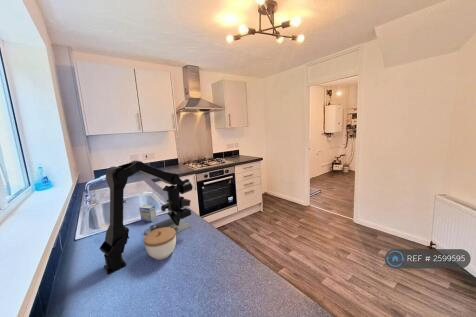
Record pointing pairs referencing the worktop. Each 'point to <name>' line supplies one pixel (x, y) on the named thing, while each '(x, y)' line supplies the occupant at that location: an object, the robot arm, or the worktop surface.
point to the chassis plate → (175, 227)
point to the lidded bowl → (160, 242)
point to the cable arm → (162, 224)
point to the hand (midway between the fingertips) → (177, 225)
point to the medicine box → (148, 213)
